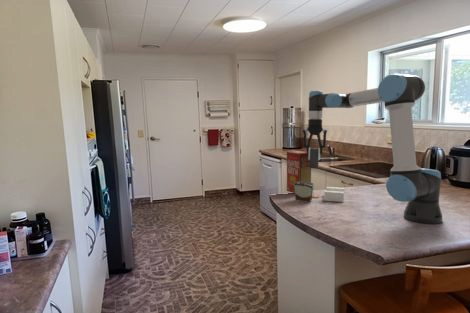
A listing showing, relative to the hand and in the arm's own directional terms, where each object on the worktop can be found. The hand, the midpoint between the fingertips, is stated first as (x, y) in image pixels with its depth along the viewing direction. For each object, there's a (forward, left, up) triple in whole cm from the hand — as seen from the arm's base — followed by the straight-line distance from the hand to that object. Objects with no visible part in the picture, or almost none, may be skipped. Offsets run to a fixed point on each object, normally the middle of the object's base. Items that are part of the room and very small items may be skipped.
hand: (314, 159), depth 184 cm
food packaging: (+8, +10, -22) cm, 25 cm away
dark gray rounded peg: (0, 0, -5) cm, 5 cm away
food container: (-10, +3, -22) cm, 24 cm away
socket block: (-1, -12, -22) cm, 25 cm away
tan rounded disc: (0, 0, -22) cm, 22 cm away
